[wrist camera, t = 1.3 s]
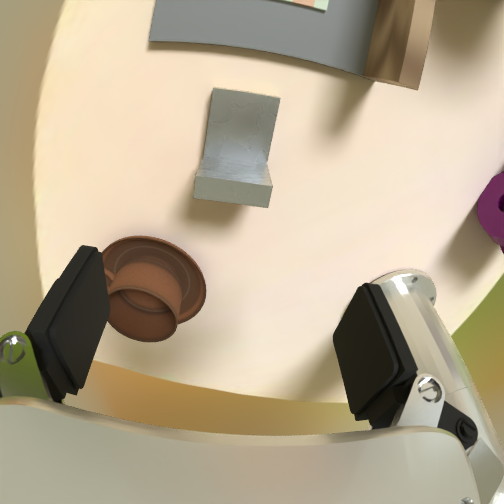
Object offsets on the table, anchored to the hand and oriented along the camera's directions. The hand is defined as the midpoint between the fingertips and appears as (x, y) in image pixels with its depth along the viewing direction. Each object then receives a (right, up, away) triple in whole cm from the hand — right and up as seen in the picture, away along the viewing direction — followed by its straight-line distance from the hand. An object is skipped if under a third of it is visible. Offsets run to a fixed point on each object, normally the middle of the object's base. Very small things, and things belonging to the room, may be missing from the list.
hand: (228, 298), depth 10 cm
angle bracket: (0, +11, +12) cm, 17 cm away
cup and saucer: (-10, -1, +21) cm, 23 cm away
